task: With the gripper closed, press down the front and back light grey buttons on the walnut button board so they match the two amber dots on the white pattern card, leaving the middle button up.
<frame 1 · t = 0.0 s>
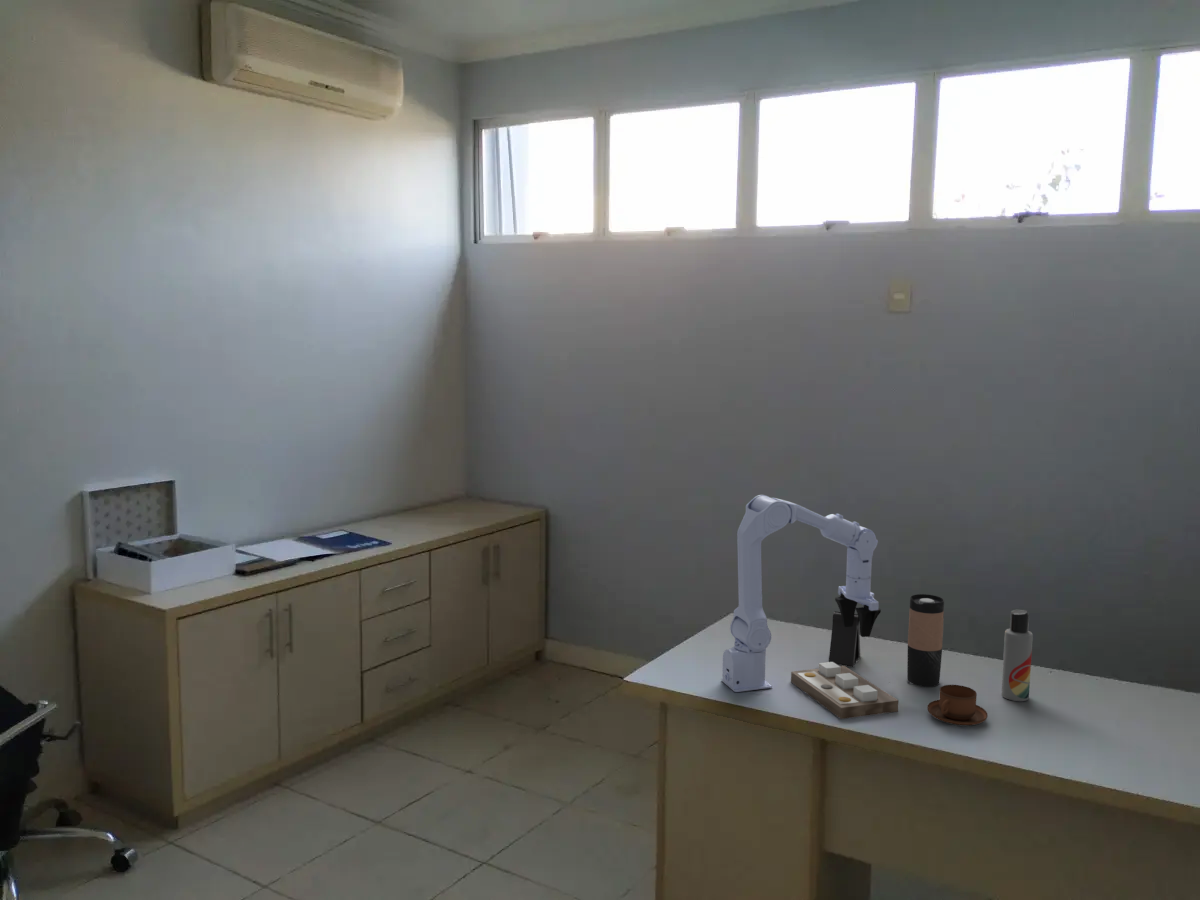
hand: (856, 631, 225), 10 cm above the table, tool pointing down, fingers open, 7 cm apart
cup and saucer: (956, 719, 200), on the table
phone stand: (844, 660, 234), on the table
button board: (842, 696, 211), on the table
lotion bottle: (1014, 697, 211), on the table
button middle: (846, 682, 211), point 3 cm above the table, slide at 0.0 cm
button back: (829, 671, 218), point 3 cm above the table, slide at 0.0 cm
travel mug: (923, 682, 220), on the table
button front: (865, 695, 204), point 3 cm above the table, slide at 0.0 cm
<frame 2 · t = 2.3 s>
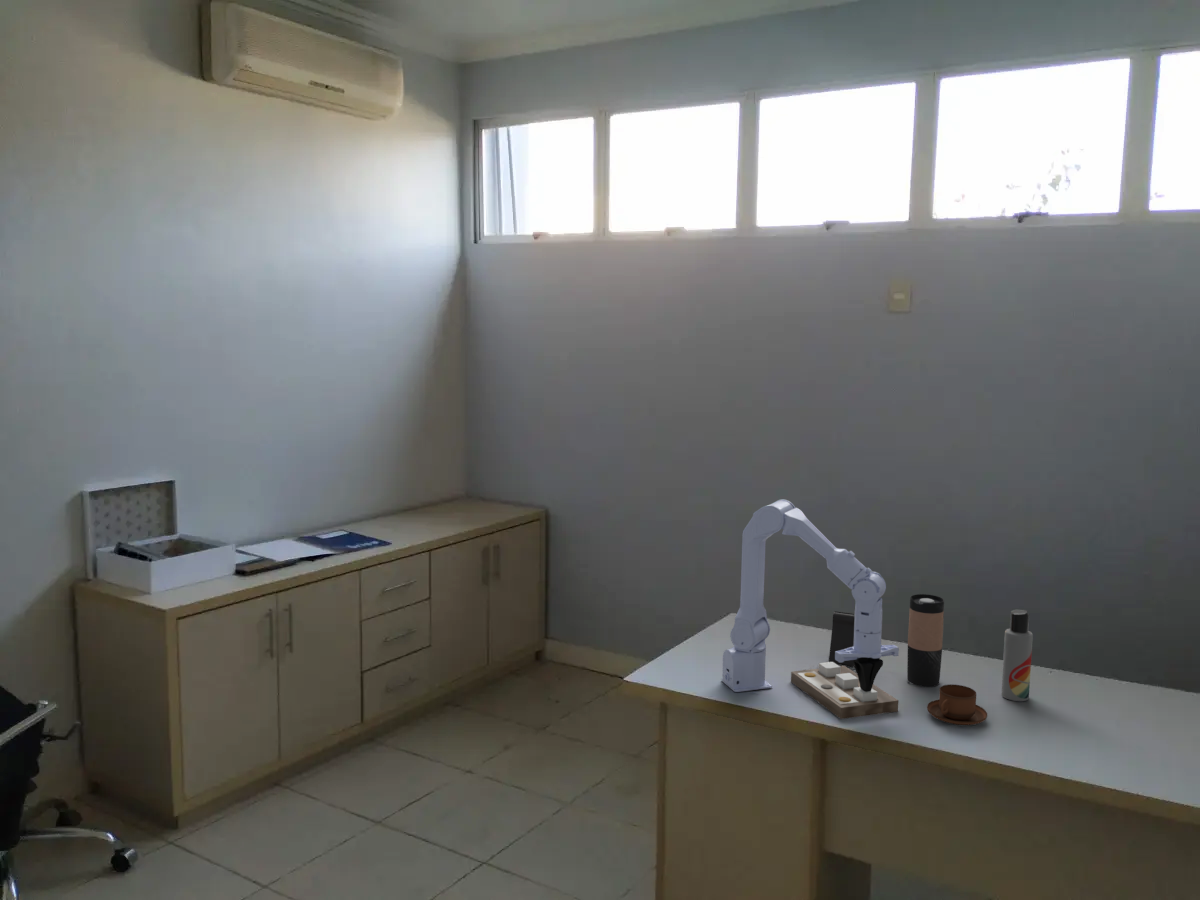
hand: (865, 690, 204), 4 cm above the table, tool pointing down, fingers closed, pressing on button front
button front: (865, 696, 204), point 3 cm above the table, slide at 0.3 cm, touching gripper
everything else where it was.
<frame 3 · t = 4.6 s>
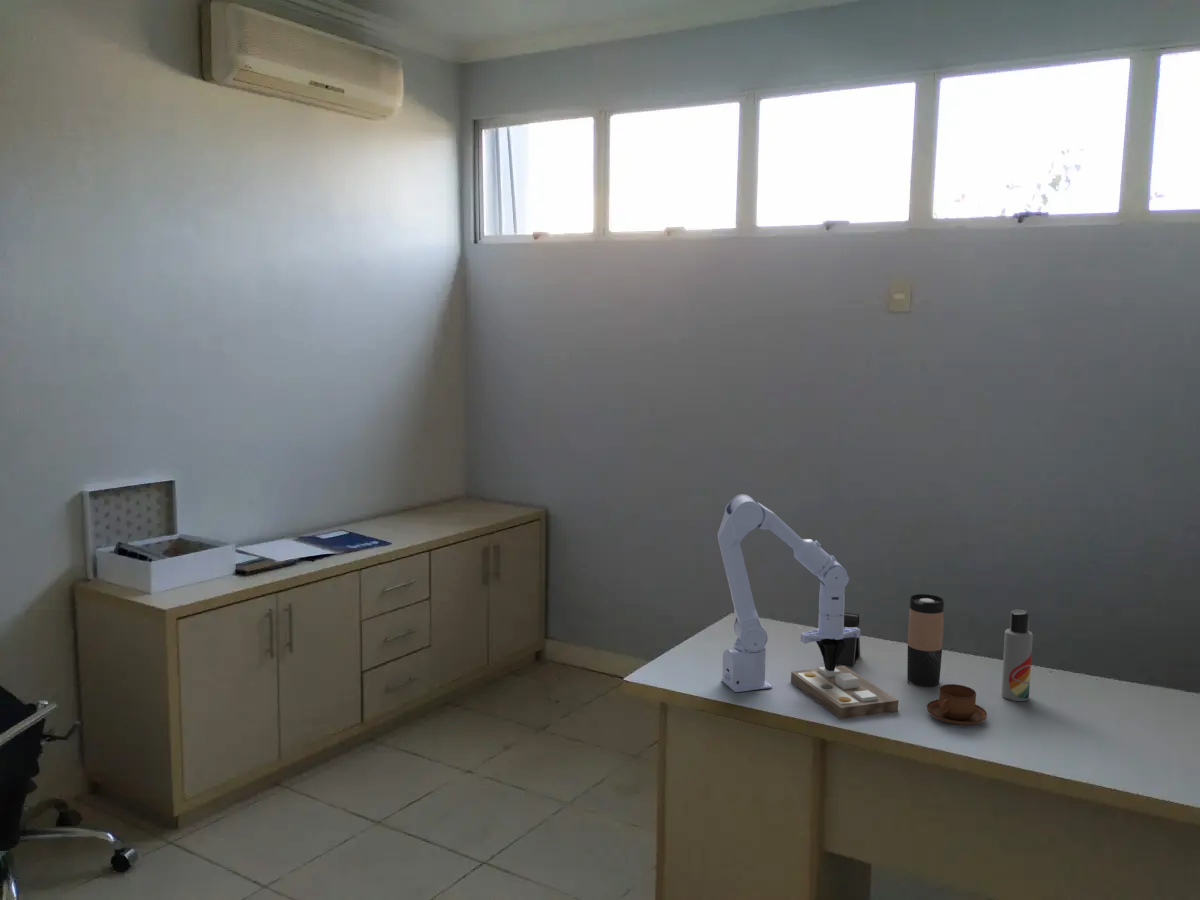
hand: (829, 669, 218), 3 cm above the table, tool pointing down, fingers closed, pressing on button back
button back: (829, 675, 218), point 2 cm above the table, slide at 1.0 cm, touching gripper
button front: (865, 700, 204), point 2 cm above the table, slide at 1.2 cm
everything else where it was.
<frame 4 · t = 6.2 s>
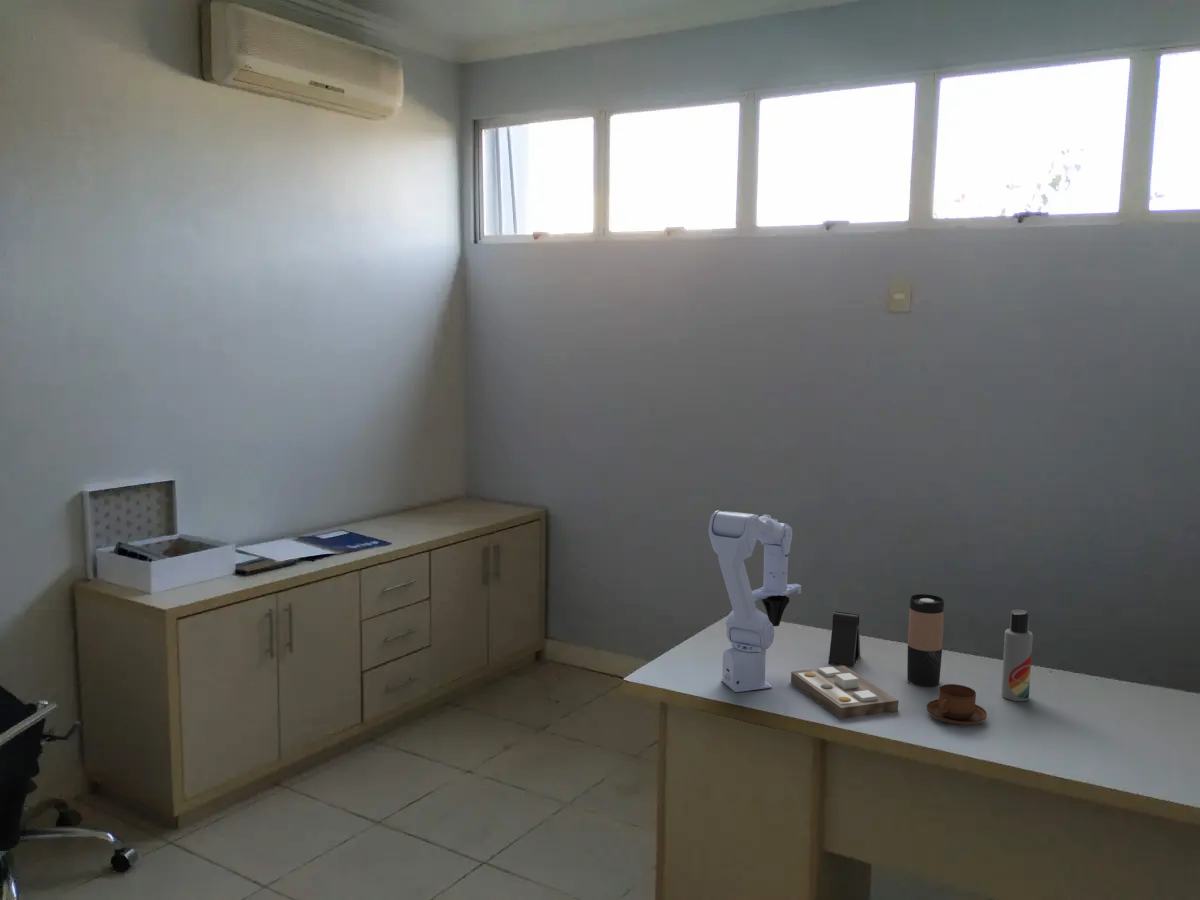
hand: (774, 625, 229), 10 cm above the table, tool pointing down, fingers closed
button back: (829, 676, 218), point 2 cm above the table, slide at 1.2 cm
everything else where it was.
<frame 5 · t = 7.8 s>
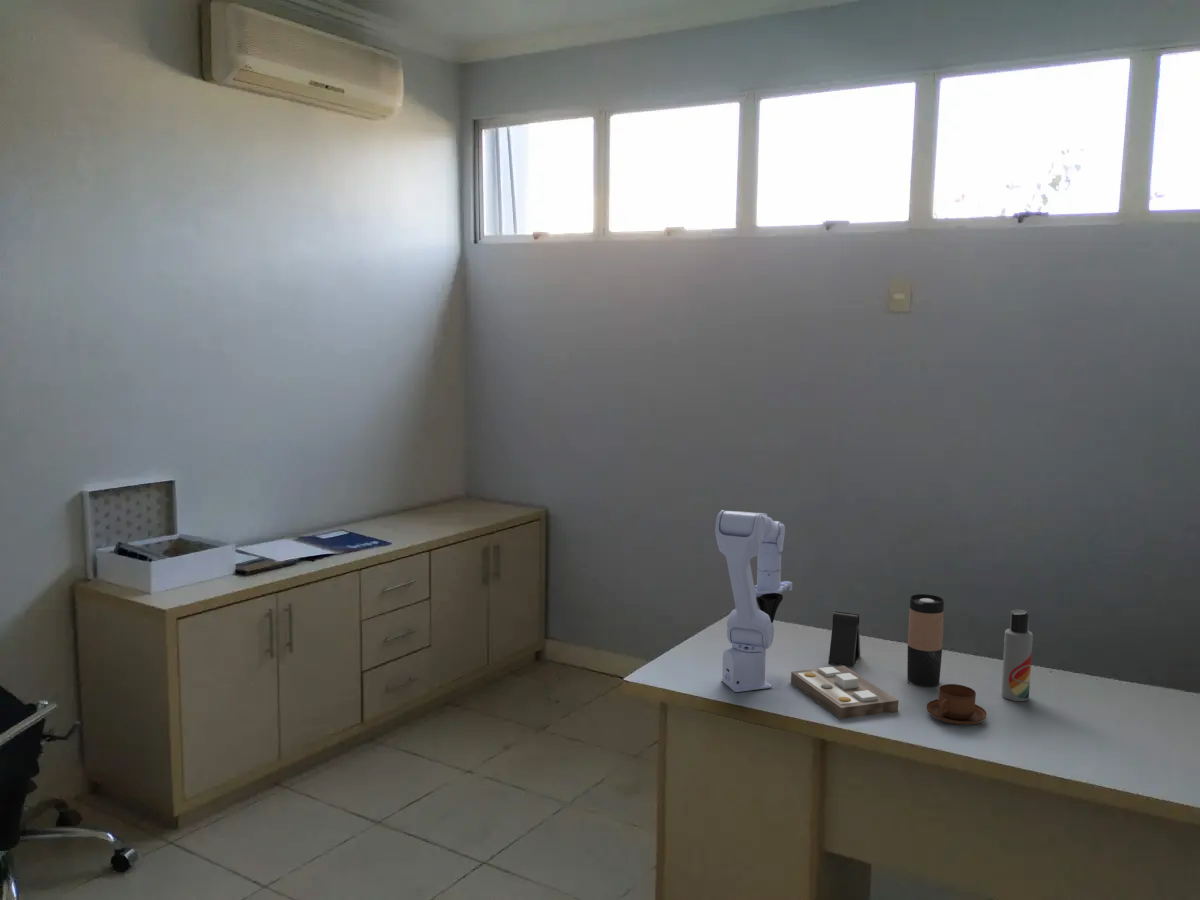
hand: (767, 622, 230), 10 cm above the table, tool pointing down, fingers closed
nothing on the table moved.
at the end: button front slide at 1.2 cm; button back slide at 1.2 cm; button middle slide at 0.0 cm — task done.
